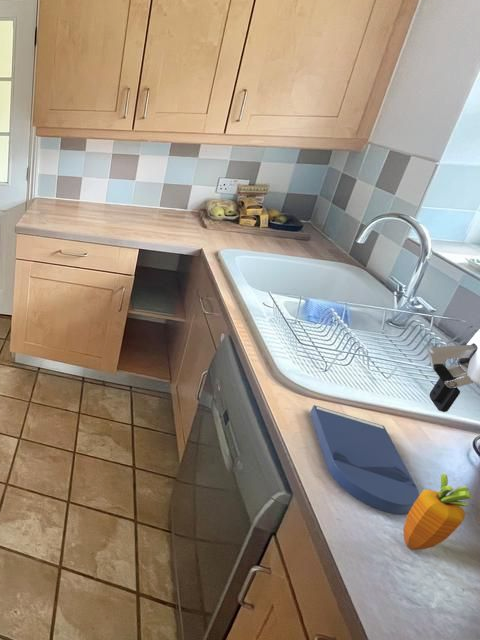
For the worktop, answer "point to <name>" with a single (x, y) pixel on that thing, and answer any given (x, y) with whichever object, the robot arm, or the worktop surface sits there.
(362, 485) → the board
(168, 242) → the worktop surface
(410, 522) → the carrot
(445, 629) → the worktop surface
